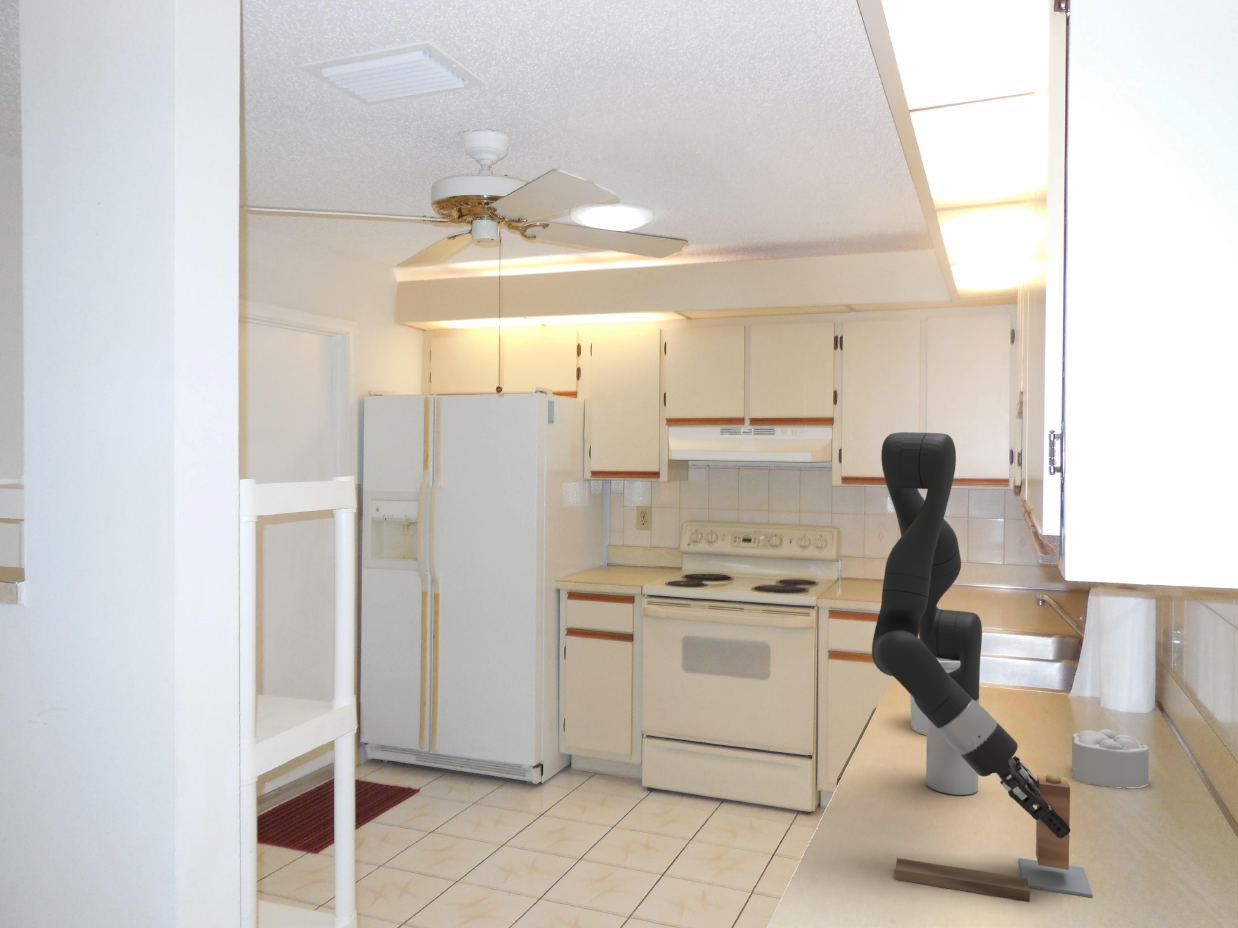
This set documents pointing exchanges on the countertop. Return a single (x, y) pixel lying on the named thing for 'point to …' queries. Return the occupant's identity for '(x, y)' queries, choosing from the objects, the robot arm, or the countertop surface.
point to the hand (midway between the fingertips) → (1063, 827)
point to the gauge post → (1047, 843)
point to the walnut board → (962, 879)
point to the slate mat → (1055, 878)
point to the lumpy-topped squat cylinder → (1109, 759)
